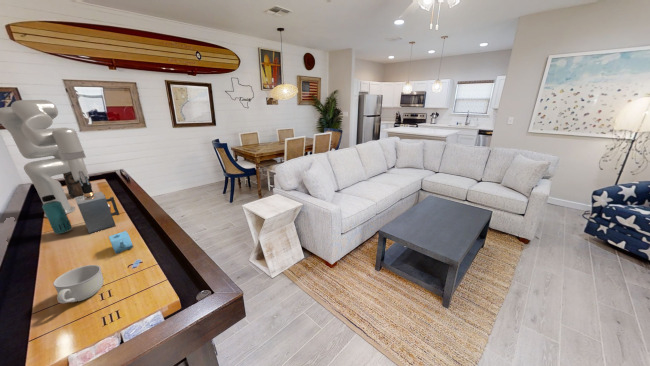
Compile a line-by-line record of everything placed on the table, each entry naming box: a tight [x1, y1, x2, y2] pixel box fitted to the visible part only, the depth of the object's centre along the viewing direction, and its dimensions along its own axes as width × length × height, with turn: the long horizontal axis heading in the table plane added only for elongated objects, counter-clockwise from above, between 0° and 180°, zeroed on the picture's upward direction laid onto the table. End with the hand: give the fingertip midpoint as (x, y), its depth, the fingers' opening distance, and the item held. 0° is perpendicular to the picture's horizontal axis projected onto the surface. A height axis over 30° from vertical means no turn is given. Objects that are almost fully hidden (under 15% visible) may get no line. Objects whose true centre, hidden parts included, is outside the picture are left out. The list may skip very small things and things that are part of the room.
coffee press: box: [74, 191, 120, 235], centre depth 120 cm, size 10×13×17 cm
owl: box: [62, 171, 93, 199], centre depth 162 cm, size 13×13×20 cm
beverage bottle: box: [41, 195, 73, 235], centre depth 114 cm, size 6×7×20 cm
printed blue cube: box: [108, 230, 134, 255], centre depth 101 cm, size 12×6×8 cm, turn 48°
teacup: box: [52, 264, 104, 304], centre depth 76 cm, size 14×11×8 cm
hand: (88, 192), depth 115 cm, fingers closed
